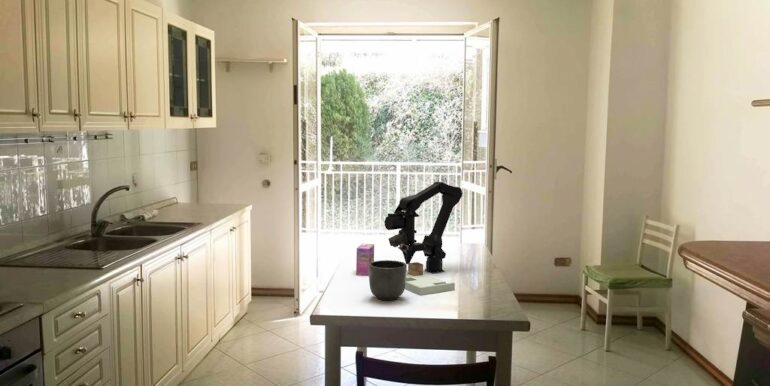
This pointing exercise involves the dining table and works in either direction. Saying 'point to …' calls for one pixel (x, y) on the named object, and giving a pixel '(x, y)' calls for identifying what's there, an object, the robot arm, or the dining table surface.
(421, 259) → the dining table surface
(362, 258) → the box
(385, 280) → the planter
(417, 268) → the block
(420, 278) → the trap tray
